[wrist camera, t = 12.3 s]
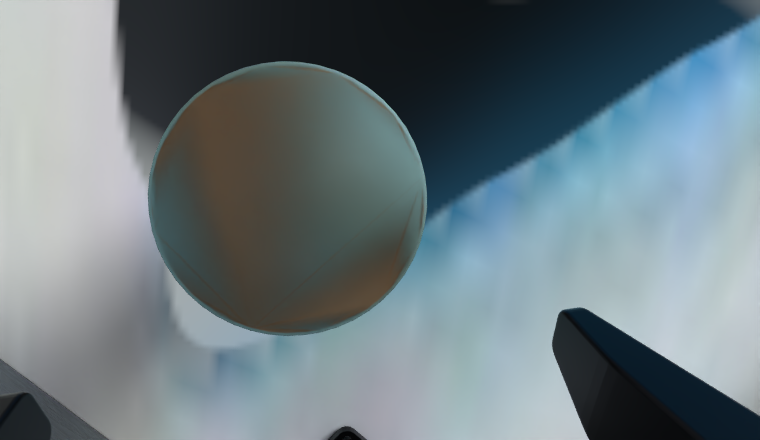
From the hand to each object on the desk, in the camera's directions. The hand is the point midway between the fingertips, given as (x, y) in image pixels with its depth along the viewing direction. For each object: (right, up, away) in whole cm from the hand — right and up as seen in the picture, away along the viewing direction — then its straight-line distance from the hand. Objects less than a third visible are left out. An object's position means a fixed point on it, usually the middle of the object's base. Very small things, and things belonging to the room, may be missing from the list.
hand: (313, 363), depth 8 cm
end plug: (-2, +4, +13) cm, 13 cm away
